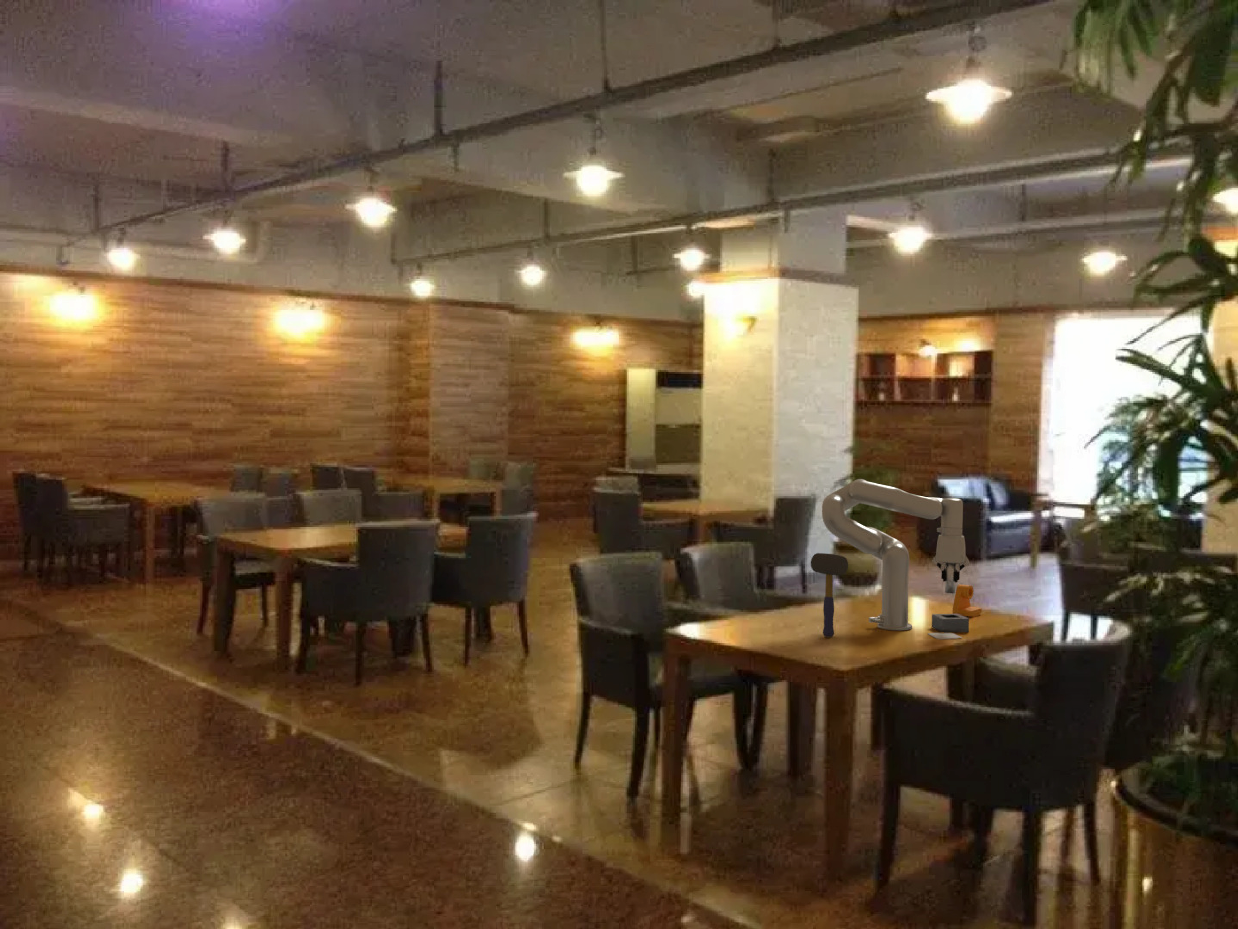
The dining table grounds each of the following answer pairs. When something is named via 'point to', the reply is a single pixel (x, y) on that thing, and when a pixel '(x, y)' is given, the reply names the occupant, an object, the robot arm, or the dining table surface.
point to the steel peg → (950, 578)
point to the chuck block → (950, 623)
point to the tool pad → (944, 635)
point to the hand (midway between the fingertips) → (950, 581)
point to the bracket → (965, 602)
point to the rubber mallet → (829, 584)
